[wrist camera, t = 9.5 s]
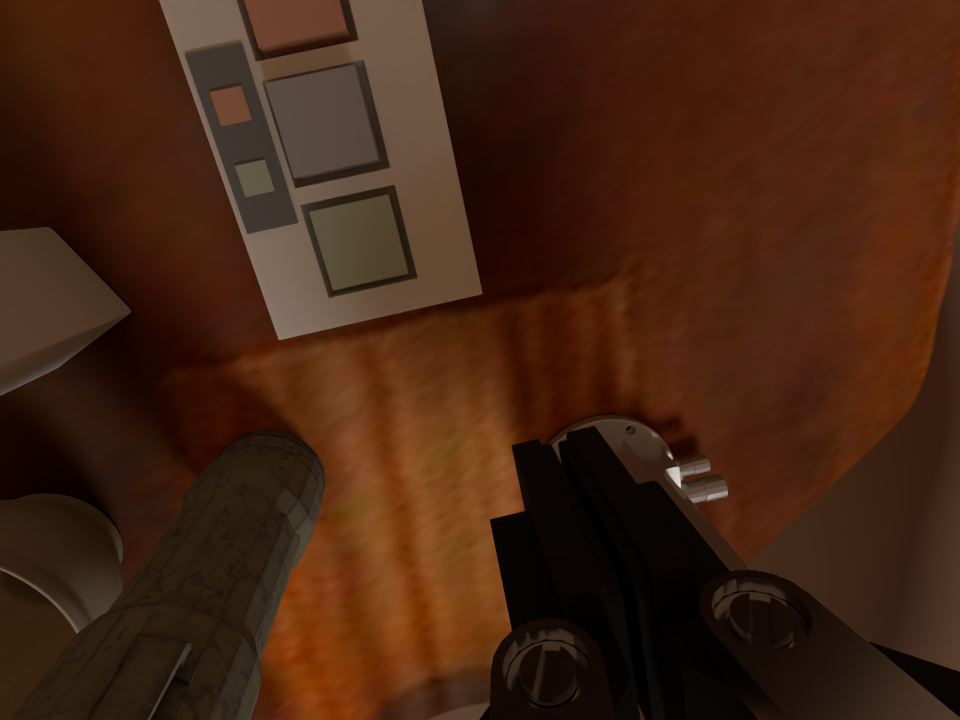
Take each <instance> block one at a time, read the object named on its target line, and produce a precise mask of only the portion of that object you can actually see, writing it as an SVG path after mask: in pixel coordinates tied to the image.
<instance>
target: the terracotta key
mask: <svg viewBox="0 0 960 720" xmlns="http://www.w3.org/2000/svg"><path fill="white" fill-rule="evenodd" d="M244 1H245V4H246V8H247V11H248V14H249V18H250V21H251V24H252V27H253V31H254V34H255V37H256V40H257V44H258V47H259V49H261V50H262V51H263V52H264V53H265V54H266V55H267V56H269V57H270V58H276V57H281V56H286V55H290V54H295V53H300V52H305V51H310V50H314V49H319V48H324V47H329V46H334V45H339V44H343V43H348V42H352V38H351V34H350V30H349V26H348V22H347V18H346V14H345V10H344V6H343V2H342V0H244Z"/></svg>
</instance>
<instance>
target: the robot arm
mask: <svg viewBox="0 0 960 720" xmlns="http://www.w3.org/2000/svg"><path fill="white" fill-rule="evenodd" d="M627 427H628V428H627ZM512 450H513V455H514V460H515V465H516V470H517V475H518V479H519V484H520V489H521V494H522V498H523V503H524V508H525V511H523V512H519V513H515V514H511V515H507V516H502V517H498V518H494V519H490V523H491V528H492V533H493V538H494V543H495V548H496V553H497V558H498V563H499V568H500V573H501V578H502V583H503V588H504V593H505V598H506V603H507V608H508V613H509V618H510V623H511V627H512V631H511V632H510V633H509V634H508V635H507V636H506V637H505V638H504V639H503V640H502V641H501V643H500V645H499V646H498V648H497V650H496V652H495V654H494V656H493V661H492V667H491V677H490V705H489V707H488V709H487V710H486V711H485V713H484V714H483V715H482V717H481V718H480V720H640V713H639V706H640V709H641V711H642V713H643V716H644V718H645V720H960V672H959V671H956V670H953V669H950V668H947V667H944V666H941V665H938V664H935V663H932V662H929V661H925V660H923V659H919V658H916V657H914V656H911V655H907V654H904V653H902V652H898V651H895V650H892V649H889V648H886V647H883V646H880V645H877V644H874V643H871V642H868V641H867V640H865V639H864V638H863V637H862V636H860V635H859V634H858V633H857V632H855V631H854V630H853V629H852V628H851V627H850V626H848V625H847V624H846V623H845V622H843V621H842V620H841V619H840V618H839V617H837V616H836V615H835V614H834V613H833V612H831V611H830V610H829V609H828V608H826V607H825V606H824V605H823V604H822V603H820V602H819V601H818V600H817V599H816V598H814V597H813V596H812V595H811V594H810V593H808V592H807V591H806V590H804V589H803V588H801V587H799V586H798V585H797V584H795V583H793V582H792V581H790V580H787V579H785V578H783V577H780V576H778V575H775V574H772V573H767V572H762V571H757V570H751V569H750V568H749V567H748V566H747V564H746V563H745V562H744V561H743V560H742V559H741V557H740V556H739V555H738V554H737V553H736V552H735V551H734V549H733V548H732V547H731V546H730V545H729V544H728V542H727V541H726V540H725V539H724V538H723V537H722V536H721V534H720V533H719V532H718V531H717V530H716V529H715V527H714V526H713V525H712V524H711V523H710V522H709V521H708V519H707V518H706V517H705V516H704V515H703V514H702V512H701V511H700V510H699V509H698V508H697V507H696V505H695V504H694V503H698V502H702V501H705V502H708V501H712V500H716V499H720V498H724V497H727V495H728V489H727V485H726V483H725V481H724V479H723V478H722V476H721V475H719V474H716V475H712V476H707V477H703V478H699V479H697V480H695V481H691V482H687V483H684V482H683V481H682V480H683V476H687V475H691V474H694V475H695V474H699V473H703V472H707V471H710V463H709V461H708V458H707V457H706V456H705V455H699V456H695V457H691V458H688V459H686V460H682V461H678V460H677V459H674V458H673V455H672V453H671V451H670V449H669V447H668V445H667V444H666V442H665V441H664V440H663V439H662V438H661V437H660V436H659V435H658V434H657V433H656V432H655V431H654V430H653V429H652V428H651V427H649V426H648V425H646V424H644V423H643V422H641V421H639V420H636V419H633V418H630V417H627V416H619V415H601V416H595V417H591V418H587V419H584V420H581V421H579V422H577V423H574V424H572V425H570V426H569V427H567V428H566V429H564V430H562V431H561V432H559V433H558V434H557V435H556V436H555V437H554V438H553V439H552V440H551V441H549V443H548V444H546V445H541V443H540V441H539V439H536V440H532V441H528V442H523V443H519V444H515V445H512ZM638 704H639V706H638Z"/></svg>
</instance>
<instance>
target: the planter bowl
mask: <svg viewBox="0 0 960 720" xmlns="http://www.w3.org/2000/svg"><path fill="white" fill-rule="evenodd" d="M122 557H123V545H122V540H121V537H120V535H119V532H118V530H117V528H116V527H115V526H114V524H113V523H112V522H111V520H110V519H109V518H108V517H107V516H106V515H104V514H103V513H102V512H101V511H100V510H98V509H97V508H95V507H94V506H92V505H90V504H88V503H86V502H84V501H82V500H80V499H77V498H74V497H70V496H66V495H60V494H50V493H42V494H33V495H28V496H24V497H21V498H18V499H10V500H0V720H10V719H11V718H12V716H13V715H14V714H15V712H16V711H17V710H18V709H19V707H20V706H21V705H22V704H23V702H24V701H25V700H26V698H27V697H28V696H29V695H30V693H31V692H32V691H33V689H34V688H35V687H36V686H37V684H38V683H39V682H40V681H41V679H42V678H43V677H44V675H45V674H46V673H47V672H48V670H49V669H50V668H51V666H52V665H53V664H54V663H55V661H56V660H57V659H58V657H59V656H60V655H61V654H62V652H63V651H64V650H65V649H66V647H67V646H68V645H69V643H70V642H71V641H72V640H73V638H74V637H75V636H76V634H77V633H78V632H80V631H81V630H82V629H84V628H85V627H86V626H88V625H89V624H90V623H91V622H93V621H94V620H95V619H97V618H98V617H99V616H101V615H103V614H104V613H106V612H107V611H108V610H109V609H110V607H111V606H112V605H113V603H114V602H115V601H116V599H117V598H118V597H119V595H120V594H121V593H122V591H123V577H122V569H121V561H122Z"/></svg>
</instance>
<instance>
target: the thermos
mask: <svg viewBox="0 0 960 720" xmlns="http://www.w3.org/2000/svg"><path fill="white" fill-rule="evenodd" d="M325 483H326V482H325V475H324V468H323V466H322V464H321V462H320V460H319V458H318V456H317V454H316V453H315V452H314V451H313V450H312V449H311V448H310V447H309V446H307V445H306V444H305V443H304V442H303V441H301V440H299V439H297V438H295V437H293V436H291V435H289V434H285V433H280V432H275V431H257V432H251V433H248V434H246V435H243V436H240V437H237V438H236V439H234V440H233V441H232V442H231V443H229V444H228V445H227V446H226V447H224V448H223V450H222V451H221V452H220V454H219V456H218V457H217V458H215V459H214V460H213V461H212V462H210V463H209V464H208V465H207V467H206V468H205V469H204V470H203V472H202V473H201V474H200V475H199V477H198V478H197V479H196V481H195V482H194V483H193V484H192V486H191V487H190V488H189V489H188V491H187V492H186V493H185V496H184V498H183V502H182V509H181V514H180V516H179V517H178V518H177V520H176V521H175V522H174V524H173V525H172V526H171V528H170V529H169V530H168V532H167V533H166V534H165V536H164V537H163V538H162V540H161V541H160V542H159V544H158V545H157V546H156V548H155V549H154V550H153V551H152V553H151V554H150V555H149V557H148V558H147V559H146V561H145V562H144V563H143V565H142V566H141V567H140V569H139V570H138V571H137V573H136V574H135V575H134V577H133V578H132V579H131V581H130V582H129V583H128V585H127V586H126V587H125V589H124V590H123V591H122V593H121V594H120V595H119V597H118V598H117V599H116V601H115V602H114V603H113V605H112V606H111V607H110V609H109V610H108V611H107V612H106V613H104V614H103V615H101V616H99V617H98V618H97V619H95V620H94V621H93V622H91V623H90V624H89V625H88V626H86V627H85V628H84V629H82V630H81V631H80V632H78V633H77V634H76V636H75V637H74V638H73V640H72V641H71V642H70V643H69V645H68V646H67V647H66V649H65V650H64V651H63V652H62V654H61V655H60V656H59V657H58V659H57V660H56V661H55V663H54V664H53V665H52V666H51V668H50V669H49V670H48V672H47V673H46V674H45V675H44V677H43V678H42V679H41V681H40V682H39V683H38V684H37V686H36V687H35V688H34V689H33V691H32V692H31V693H30V695H29V696H28V697H27V698H26V700H25V701H24V702H23V704H22V705H21V706H20V707H19V709H18V710H17V711H16V712H15V714H14V715H13V716H12V718H11V719H10V720H250V719H251V716H252V713H253V710H254V707H255V704H256V701H257V697H258V692H259V688H260V683H261V679H262V676H261V670H260V663H259V662H260V659H261V656H262V654H263V651H264V648H265V645H266V642H267V639H268V636H269V633H270V631H271V628H272V625H273V622H274V619H275V616H276V613H277V610H278V608H279V605H280V602H281V599H282V596H283V593H284V590H285V587H286V585H287V582H288V579H289V576H290V573H291V570H292V568H293V567H294V566H295V565H297V563H298V562H299V560H300V558H301V556H302V554H303V552H304V550H305V549H306V547H307V545H308V543H309V541H310V539H311V536H312V533H313V530H314V527H315V524H316V520H317V517H318V514H319V509H320V505H321V501H322V500H321V499H322V495H323V491H324V487H325Z"/></svg>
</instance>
